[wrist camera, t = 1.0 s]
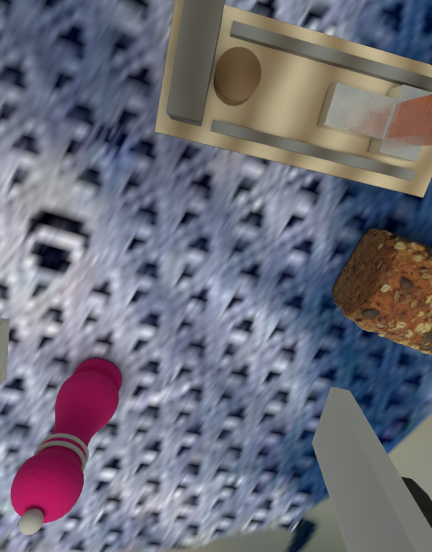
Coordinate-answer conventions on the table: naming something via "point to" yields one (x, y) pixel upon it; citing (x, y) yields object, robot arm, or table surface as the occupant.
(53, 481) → the pepper mill
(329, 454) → the robot arm
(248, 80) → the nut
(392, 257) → the bread
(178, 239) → the table surface
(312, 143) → the board
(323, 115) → the carriage
